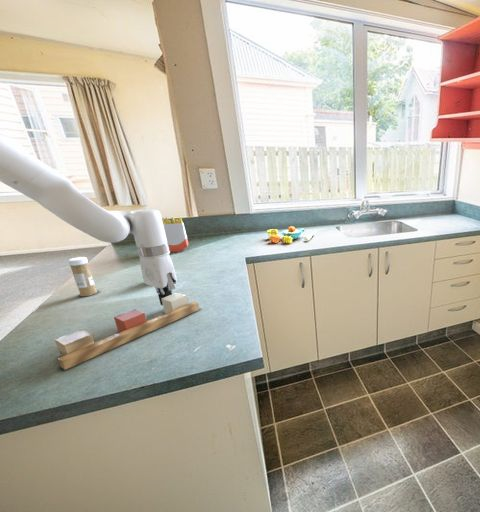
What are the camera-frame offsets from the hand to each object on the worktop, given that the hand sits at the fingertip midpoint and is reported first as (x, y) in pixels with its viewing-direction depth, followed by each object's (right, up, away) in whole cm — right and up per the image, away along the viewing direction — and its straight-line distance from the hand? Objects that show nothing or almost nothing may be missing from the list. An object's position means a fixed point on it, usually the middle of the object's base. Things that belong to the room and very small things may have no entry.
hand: (167, 303), depth 96 cm
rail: (+3, -6, -14) cm, 16 cm away
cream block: (+4, -2, -2) cm, 5 cm away
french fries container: (-39, +18, +59) cm, 73 cm away
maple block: (-5, -9, -23) cm, 25 cm away
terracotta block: (0, -6, -13) cm, 14 cm away
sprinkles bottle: (-35, +2, +9) cm, 36 cm away
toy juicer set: (+15, +25, +83) cm, 88 cm away
